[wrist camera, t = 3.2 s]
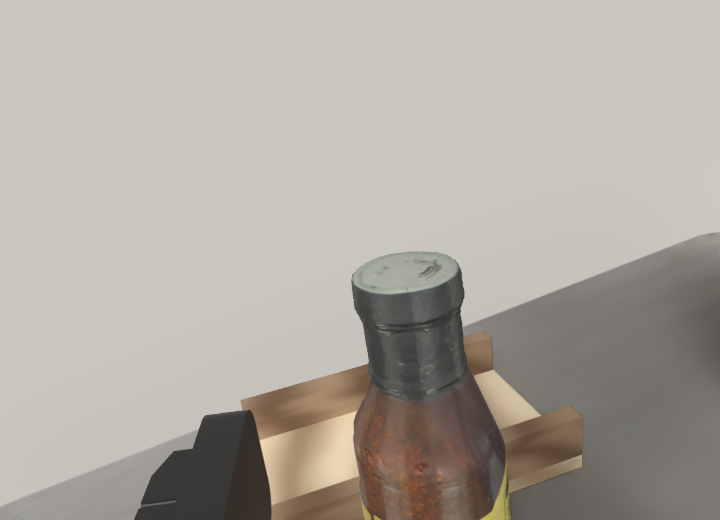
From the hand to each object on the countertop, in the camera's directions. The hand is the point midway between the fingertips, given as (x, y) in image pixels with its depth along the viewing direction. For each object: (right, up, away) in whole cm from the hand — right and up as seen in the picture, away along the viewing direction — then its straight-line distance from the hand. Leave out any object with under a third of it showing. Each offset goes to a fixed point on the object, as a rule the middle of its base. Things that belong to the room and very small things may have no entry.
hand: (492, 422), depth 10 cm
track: (+1, -11, +31) cm, 33 cm away
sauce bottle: (+2, -16, +18) cm, 25 cm away
